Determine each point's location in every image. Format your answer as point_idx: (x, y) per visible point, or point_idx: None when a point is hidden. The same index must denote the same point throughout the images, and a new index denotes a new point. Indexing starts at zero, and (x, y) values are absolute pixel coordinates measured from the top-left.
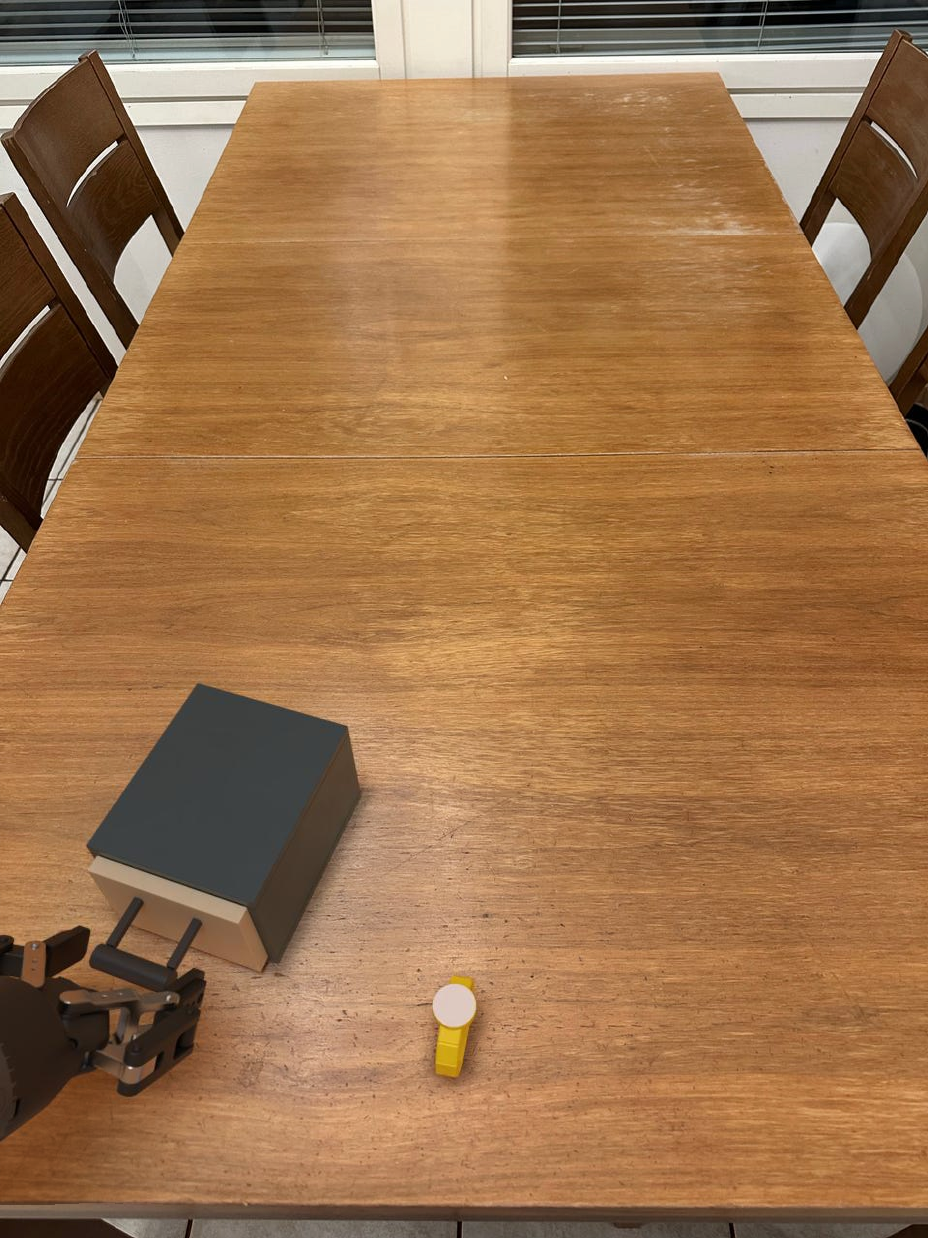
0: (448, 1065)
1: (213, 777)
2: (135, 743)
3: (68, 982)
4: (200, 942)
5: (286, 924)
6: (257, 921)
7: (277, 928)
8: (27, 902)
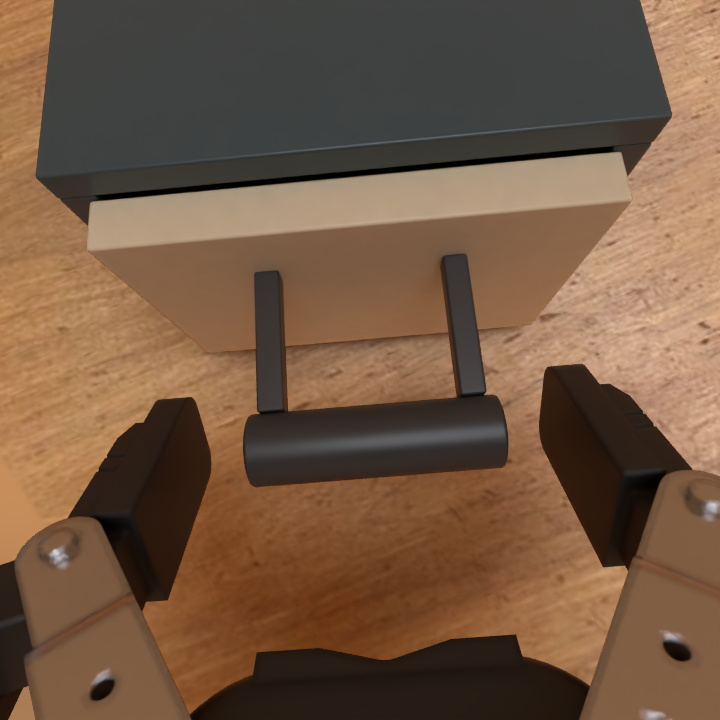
0: None
1: None
2: (33, 70)
3: (323, 670)
4: (407, 320)
5: None
6: None
7: None
8: (2, 398)
